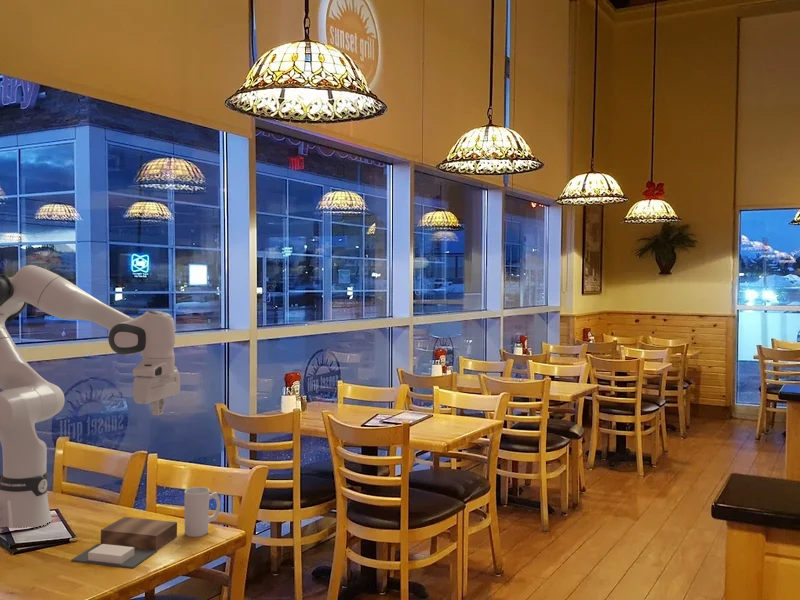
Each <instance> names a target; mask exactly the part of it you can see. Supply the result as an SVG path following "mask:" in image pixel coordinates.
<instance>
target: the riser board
mask: <svg viewBox="0 0 800 600" xmlns="http://www.w3.org/2000/svg"><path fill="white" fill-rule="evenodd" d="M175 537H176V538H177V537H178V521H170V520H169V521H168V520H161V519H160V520H159V519H149V518H141V517H130V516H129V517H128V516H122V517H121V518H120V519H117V520H116V521H114V522H112V523H110V524H109V525H107V526H105V527H103V528H101V529H100V544H109V545H118V546H127V547H134V548H139V549H148V550H157V551H158V550H160V549H161V548H162V546H163V547H164V546H165V545H167V544H168V543H170V542H171V541H173V540H174V539H176V538H175ZM159 548H160V549H159Z"/></svg>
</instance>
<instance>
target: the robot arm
mask: <svg viewBox="0 0 800 600" xmlns="http://www.w3.org/2000/svg"><path fill="white" fill-rule="evenodd" d="M28 304H29V305H32V306H33V307H35V308H37V309H38V310H40V311H42V312H44V313H45V314H48V315H50V316H52V317H56V318H58V319H61V320H80V321H86V322H91V323H95V324H97V325H100V326H101V327H103V328H106V329H107V330H109V333H108V338H107V339H108V344H109V347H110V348H111V350H112V351H113V352H114V353H116V354H118V355H122V356H130V355H136V354H139V353H140V354H142V360H141V361H140V363H139V364H137V365H136V366H135V367H134V368H133V369H132V375H133V377H135V378H133V385H132V386H133V387H132V388H133V389H132V391H133V393H132V395H133V401H134V403H135V404H137V405H147V404H149V405H150V407H151V410H152V411H151V412H152V415H153V416H159V415H162V414H164V408H165V405H166V402H167V401H166V400H167V398H171V397H172V396H176V395H179V394H180V391H181V377H180V371H179V370H178V367H177V366H176V364H175V363H176V362H175V357H176V355H175V352H174V349H175V348H174V346H175V343H176V327H175V320H174V317H173V315H172V314H170V313H168V312H165V311H163V310H162V311H161V310H153V309H149V310H146V311H145V312H144V313H143V314H141V315H139V316H138V317H137V316H136V317H133V316H130V315H128V314H126V313H124V312H122V311H121V310H119V309H116V308H115V307H114V306H111V305H109V304H107V303H105V302H103V301H101V300H99V299H97V298H96V297H94V296H92V295H91V294H89V293H88V292H86V291H84V290H83V289H81V288H80V287H79V286H77V285H76V284H74V283H73V282H72V281H69V280H68V279H66V278H65V277H63V276H61V275H60V274H57V273H55V272H53V271H50V270H48V269H46V268H44V267H40V266H38V265H35V264H27V265H25V266H23V267H21V268H20V269H19V270H18V271H17V272H16V273H15V274H14V275H13V276H11V277H9V276H8V275H7V274H4V273H3V274H1V273H0V389H1V390H2V391H0V445H1V449H2V474H0V527H6V526H7V527H10V528H13V527H16V528H17V527H18V528H22V527H23V528H25V527H26V528H27V527H38V526H41V527H44V526H46V525H48V524H50V523H51V522H52V521H53V517H52V513H51V511H50V507H49V506H50V505H49V498H48V487H49V471H48V470H47V461H48V459H47V457H48V456H47V454H48V453H47V451H48V448H47V447H48V446H47V444H46V442H45V441H43V440H42V439H40V438H39V437H38V435H37V431H36V426H35V425H36V423H41V422H44V421H46V420H49V419H51V418H53V417H54V416H56V415H57V414H59V413H60V412H61V411H62V410H63V408H64V406H65V401H66V400H65V399H66V398H65V393H64V391H63V390H62V389H61V388H60V387H59V386H58V385H56V384H54V383H52V382H49V381H48V380H46V379H45V378H44V377H43V376H41V375H40V374H39V373H38V372H37V371H36V370H35V369H34V368H33V367H32V366H31V365H30V363H28V362H27V361H26V359H25V358H24V356H23V355H22V353H21V352H20V350H19V348H18V346H17V345H16V343H15V341H14V340H13V338H12V337H11V335H10V333H9V331H8V330H7V327H6V324H9V323H11V322H13V320H14V319H16V318H17V316H19V315H20V314H22V313H23V311H25V310H26V309H27V306H28ZM49 522H50V523H49ZM47 523H48V524H47ZM43 525H44V526H43ZM38 528H39V527H38ZM2 530H3V529H0V531H2Z"/></svg>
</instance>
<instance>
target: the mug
mask: <svg viewBox="0 0 800 600" xmlns="http://www.w3.org/2000/svg"><path fill="white" fill-rule="evenodd" d="M211 499H214V500H215V502H216V508H215V511H214V513H213V514H212V515H209V513H210V500H211ZM183 504H184V506H183V507H184V535H185V536H186V535H187V536H186V537H192V538H198V537H203V536H206V535H207V534H208V532H209V524H210V523H211V522H216V520H217V518H218V516H219V513H220V509H221V499H220V497H219V495H218V491H214V492H212V493H210V488H209V487H203V486H198V487H197V486H195V487H194V486H193V487H189V488H187V489H185V490H184V503H183Z"/></svg>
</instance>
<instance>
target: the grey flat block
mask: <svg viewBox="0 0 800 600" xmlns="http://www.w3.org/2000/svg"><path fill="white" fill-rule="evenodd" d="M100 544H101V543H100ZM132 556H134V547H127V546H118V545H109V544H101V545H100V546H98V547H96V548H95V549H93V550H91V551H90V552H88V560H90V561H99V562H107V563H116V564H122V563H123V562H125V561H126V560H128V559H129V558H131V557H132Z"/></svg>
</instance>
